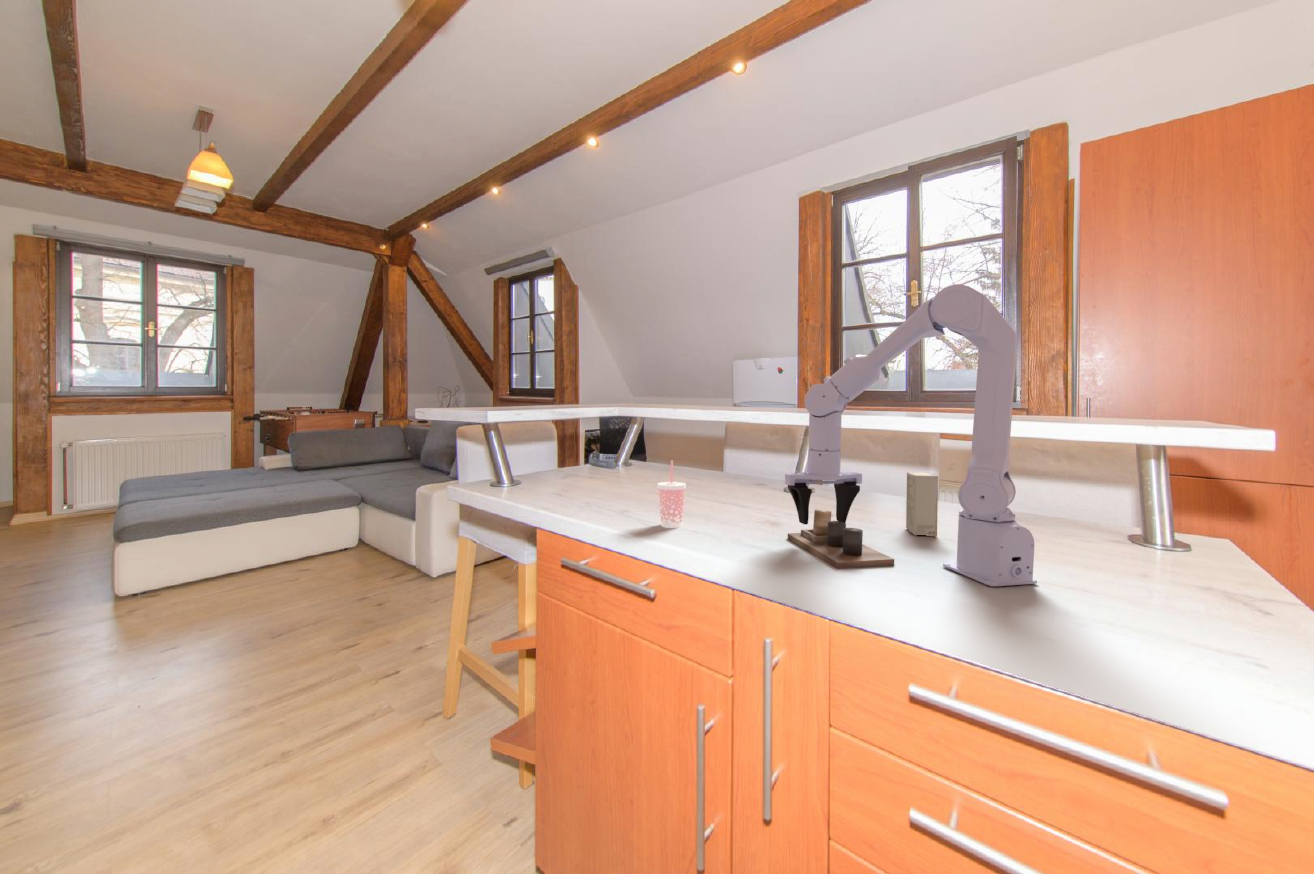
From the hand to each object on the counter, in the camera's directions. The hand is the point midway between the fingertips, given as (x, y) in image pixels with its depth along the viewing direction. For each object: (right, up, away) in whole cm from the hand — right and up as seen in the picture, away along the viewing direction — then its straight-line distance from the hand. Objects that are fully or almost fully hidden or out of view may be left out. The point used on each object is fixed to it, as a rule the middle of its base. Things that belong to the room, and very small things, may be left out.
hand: (822, 522), depth 93 cm
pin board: (+1, -4, -5) cm, 6 cm away
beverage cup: (-28, -3, +13) cm, 31 cm away
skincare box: (+23, -4, +9) cm, 25 cm away
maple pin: (0, -3, 0) cm, 3 cm away
